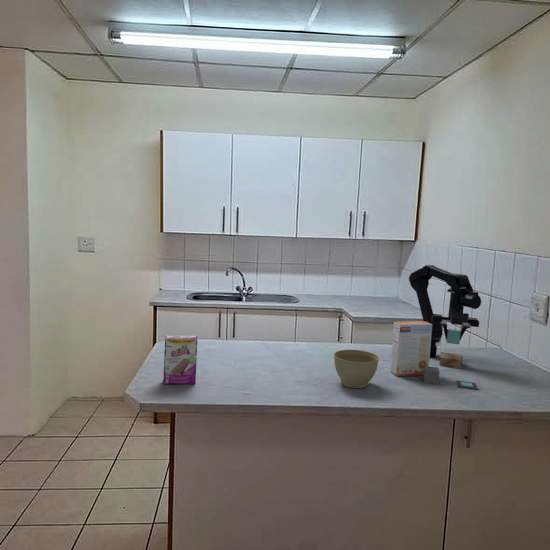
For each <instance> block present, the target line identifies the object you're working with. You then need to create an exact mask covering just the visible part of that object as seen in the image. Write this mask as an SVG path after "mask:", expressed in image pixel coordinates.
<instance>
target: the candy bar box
mask: <svg viewBox="0 0 550 550" xmlns="http://www.w3.org/2000/svg"><path fill="white" fill-rule="evenodd" d="M163 353H164V355H163V357H164V358H163V385H195V384H196V380H197V379H196V376H197V360H198V359H197V355H198V336H197V335H176V334H175V335H172V334H171V335H170V334H169V335H165V336H164V352H163Z"/></svg>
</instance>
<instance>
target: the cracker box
mask: <svg viewBox="0 0 550 550" xmlns="http://www.w3.org/2000/svg"><path fill="white" fill-rule="evenodd" d="M392 331H393V332H392V344H391V345H392V346H391V358H390V360H391V362H390V373H392V374H393V375H394V376H396V377H411V376H415V377H417V376H424V369H425V366H428V367H430V358H431V357H430V347H431V335H432V324H430V323H428V322H426V321H423V320H422V321H394V322H393V330H392Z"/></svg>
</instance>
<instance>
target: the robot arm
mask: <svg viewBox="0 0 550 550" xmlns="http://www.w3.org/2000/svg"><path fill="white" fill-rule="evenodd" d="M433 277H434V278H437V279H438V280H441V281H443V282H445V283H446V285H447V286H448V287H449V288H448V289H447V290H446V292H447V293H450V297H449V306H448V314H447V316H443V315H442V314H441V313H440V314H439V313H434V311H433V308H432V304H431V300H430V296H429V292H428V287H429V285H430V281H429V280H431V279H432V278H433ZM408 281H409V284H410V287H411V288H412V289H413V291H415V293H416V297H417V301H418V306H419V307H420V308H419V309H420V312H421V318H422V321H426V322H428V323H430V324H432V335H431V347H430V358H436V356H437V350H438V349H437V348H438V346H437V343H440V341H441V339H442V336H445V340H446V339H447V329H448V322H449V323H450V324H451V325H459V326H460V330H459V331H460V333H461V334H460V341H462V338H463V336H464V334H465V332H466V331H467V329H470V328H471V327H472V328H473V327H474V328H480V320H479V319H478V318H477V317H469V316H470V314H469V313H467V312H466V313H464V308H465V307H466V308H470V309H474V310H477V309H479V308H480V307H481V305H482V298H481V297H480V296H479V292H477V291H474V289H473V286H472V284H471V282H470V279H469V276H468V275H466V274H462V273H452V272H450V271H447V270H445V269H442V268H439V267H437V266H436V265H433V264H426V265H424V266H422V267H421V268H419V269H417V270H414V271H413V272H411V273H410V275H409V276H408ZM443 332H444V335H443Z"/></svg>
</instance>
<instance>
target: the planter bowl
mask: <svg viewBox="0 0 550 550" xmlns="http://www.w3.org/2000/svg"><path fill="white" fill-rule="evenodd" d="M333 357H334V358H333V359H334V367H335V372H336V373H337V376H338V378H339V379H340V381H341V382H340V383H341V385H343V386H345V387H347V388H350V389H351V388H353V389H363V388H366V387H368V385H369V382H370V381H371V380H372V379H373V377H374V376H375V374H376V372H377V370H378V369H377V368H378V364H379V359H380V357H379V355H377V353H374V352H370V351H367V350H361V349H341V350H337V351H335V352H334V353H333Z"/></svg>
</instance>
